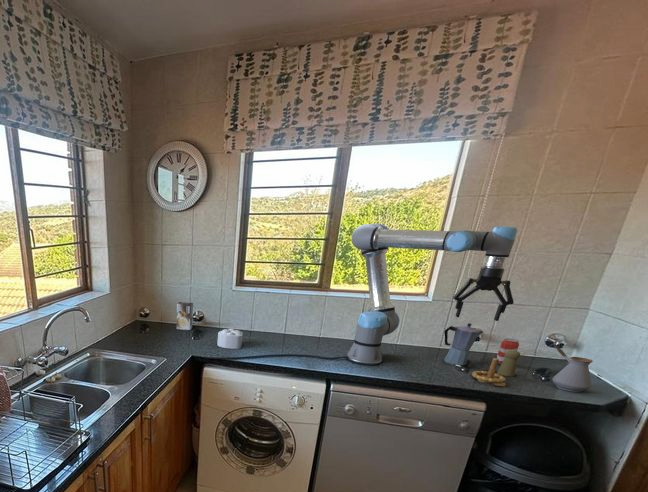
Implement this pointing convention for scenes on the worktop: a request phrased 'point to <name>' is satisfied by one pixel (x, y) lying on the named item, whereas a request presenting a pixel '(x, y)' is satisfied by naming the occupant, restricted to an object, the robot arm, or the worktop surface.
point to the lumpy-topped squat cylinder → (230, 339)
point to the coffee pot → (573, 374)
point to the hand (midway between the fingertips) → (476, 318)
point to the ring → (499, 380)
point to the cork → (509, 363)
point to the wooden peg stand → (492, 373)
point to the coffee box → (184, 315)
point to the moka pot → (460, 344)
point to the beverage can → (506, 348)
